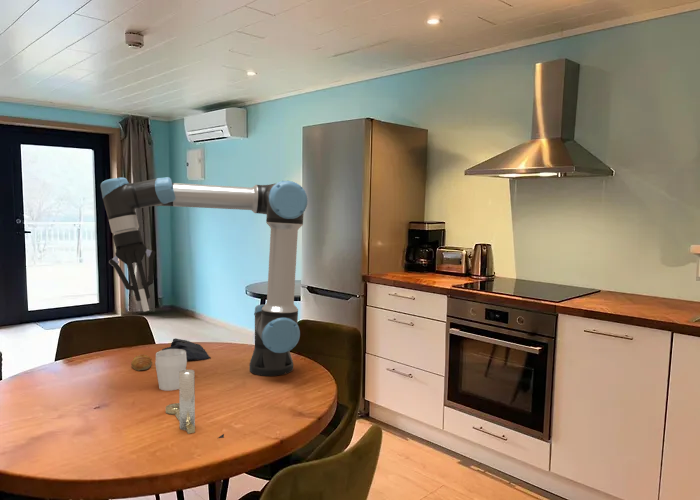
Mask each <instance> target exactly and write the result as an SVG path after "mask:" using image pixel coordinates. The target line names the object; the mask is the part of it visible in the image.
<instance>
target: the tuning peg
mask: <svg viewBox="0 0 700 500" xmlns="http://www.w3.org/2000/svg"><path fill="white" fill-rule="evenodd" d="M195 373H196V372H195V370H194V369H186V370H182V371H180V372H179V389H178V390H179V392H178V393H179V395H178V396H179V402H177V403H176V402H175V403H169V404H168V405H166V406H165V414H167V415H173V416H175V417H176V419H177V420H178V422H179V429H180V430H182V431H186V432H187V434H188V435H189V434H194V433H196V412H195V411H196V409H195V407H196V405H195V403H196V402H195V401H196V399H195V398H196V395H195V393H196V390H195V385H196V383H195V382H196V381H195V379H196V378H195V376H196V374H195Z"/></svg>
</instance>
